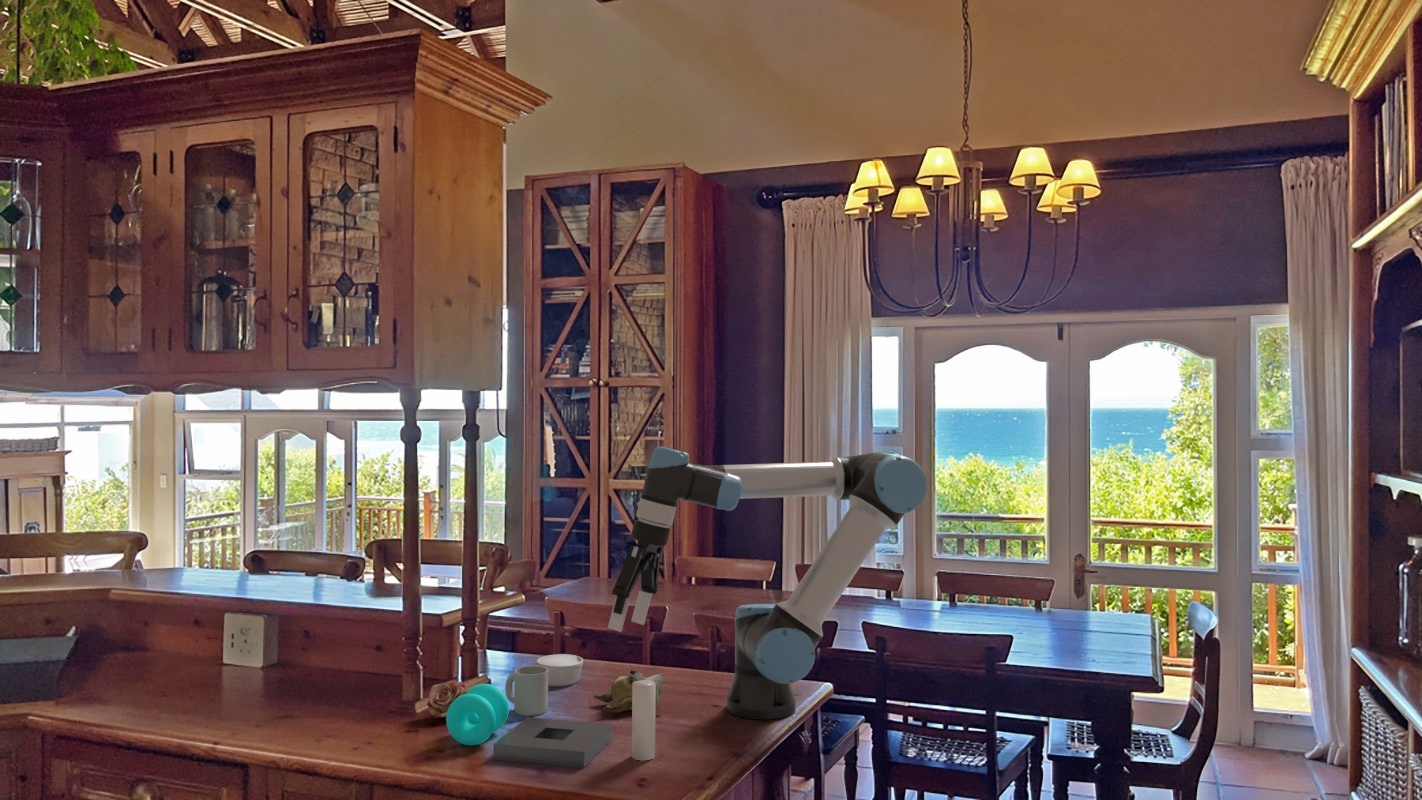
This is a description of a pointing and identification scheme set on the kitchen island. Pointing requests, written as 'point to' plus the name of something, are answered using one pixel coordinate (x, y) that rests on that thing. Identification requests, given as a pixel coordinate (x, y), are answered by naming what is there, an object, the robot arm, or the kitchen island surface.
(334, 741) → the kitchen island surface
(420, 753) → the kitchen island surface
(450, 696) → the flower
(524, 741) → the block
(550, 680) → the ramekin
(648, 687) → the white tapered capsule
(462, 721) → the turquoise yo-yo
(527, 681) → the cup
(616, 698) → the ceramic sculpture
